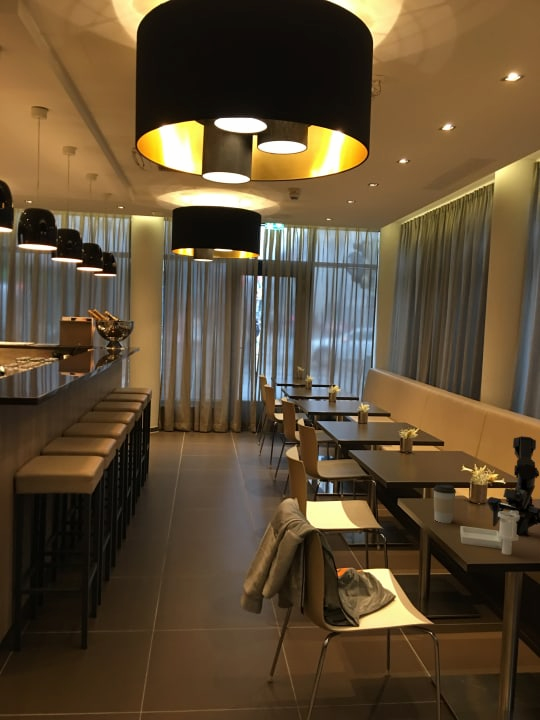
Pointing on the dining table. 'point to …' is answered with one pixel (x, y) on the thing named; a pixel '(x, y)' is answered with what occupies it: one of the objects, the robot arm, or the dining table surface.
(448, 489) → the coffee cup
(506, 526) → the white flanged column
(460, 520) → the dining table surface
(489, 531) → the white square tray
